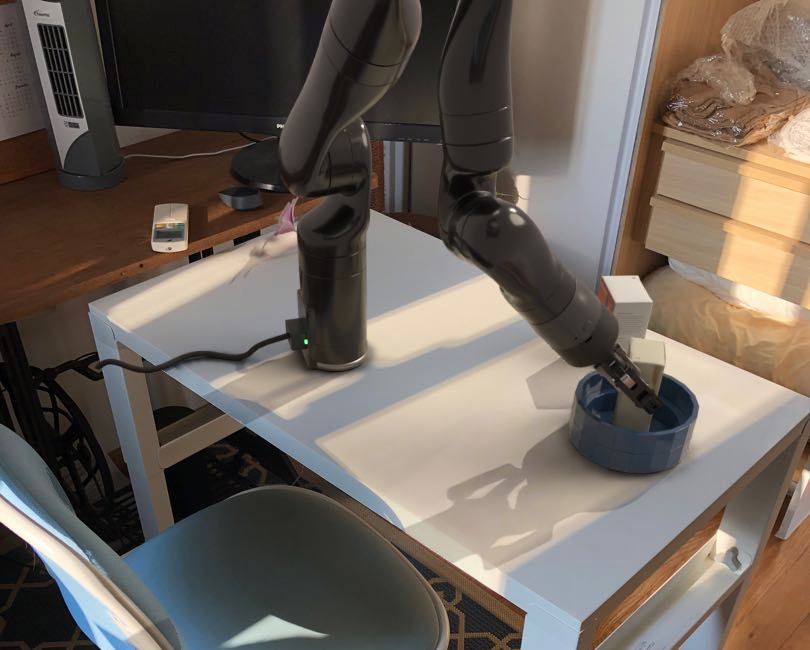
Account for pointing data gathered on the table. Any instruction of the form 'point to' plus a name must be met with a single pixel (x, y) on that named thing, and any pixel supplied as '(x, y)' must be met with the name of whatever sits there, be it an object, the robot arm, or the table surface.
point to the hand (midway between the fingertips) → (641, 391)
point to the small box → (626, 306)
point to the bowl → (627, 446)
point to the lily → (285, 221)
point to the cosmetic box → (651, 365)
